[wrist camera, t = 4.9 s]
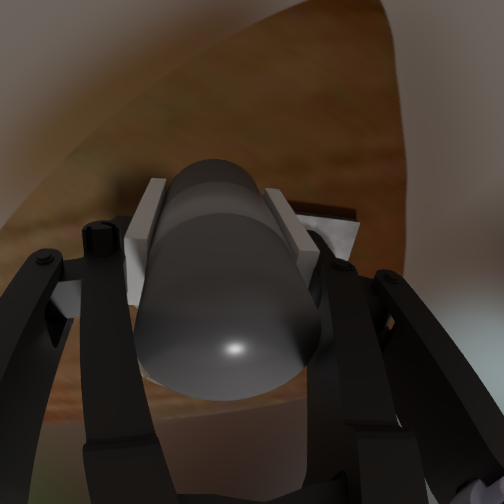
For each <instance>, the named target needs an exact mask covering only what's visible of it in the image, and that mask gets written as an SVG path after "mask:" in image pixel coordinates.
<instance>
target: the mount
mask: <svg viewBox="0 0 504 504" xmlns="http://www.w3.org/2000/svg"><path fill="white" fill-rule="evenodd" d="M294 213H295V214H296V216H297V217H298V219H299V220H300V222H301V223H302V225H303V226H304V228H305V229H306V230H313V231H315V232H316V233H318V234H319V235H321V236H322V238H323V239H324V241H325V243H327V245H328V246H329V248H330V249H331V251H332V252H333V253H334V255H335V256H336V258H340V259H343V260H346V261H348V258H349V255H350V252H351V249H352V246H353V243H354V240H355V237H356V234H357V231H358V228H359V225H360V222H359V221H358V220H357V219H356V218H348V217H341V216H333V215H325V214H317V213H309V212H301V211H294Z"/></svg>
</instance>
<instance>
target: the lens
mask: <svg viewBox="0 0 504 504" xmlns="http://www.w3.org/2000/svg"><path fill="white" fill-rule="evenodd" d="M321 332H322V327H321V318H320V314H319V312H318V309H317V307H316V305H315V303H314V301H313V298H312V296H311V294H310V292H309V290H308V288H307V286H306V284H305V282H304V280H303V278H302V276H301V274H300V271H299V269H298V267H297V265H296V263H295V261H294V258H293V254H292V252H291V250H290V248H289V246H288V244H287V242H286V240H285V238H284V236H283V234H282V232H281V230H280V228H279V226H278V224H277V222H276V220H275V218H274V216H273V214H272V212H271V210H270V209H269V207H268V206H267V204H266V203H265V201H264V199H263V197H262V195H261V193H260V191H259V190H258V188H257V186H256V184H255V182H254V180H253V179H252V177H251V176H250V175H249V174H248V173H247V172H246V171H245V170H244V169H243V168H241V167H240V166H238V165H236V164H234V163H232V162H229V161H226V160H220V159H207V160H202V161H198V162H195V163H193V164H191V165H189V166H187V167H186V168H184V169H183V170H182V171H181V172H179V173H178V174H177V176H176V177H175V178H174V179H173V181H172V182H171V184H170V186H169V188H168V191H167V194H166V198H165V201H164V205H163V208H162V212H161V215H160V217H159V219H158V222H157V225H156V229H155V233H154V237H153V240H152V244H151V248H150V252H149V256H148V260H147V264H146V269H145V279H144V284H143V288H142V293H141V297H140V302H139V307H138V312H137V317H136V322H135V327H134V333H133V337H134V342H135V347H136V353H137V357H138V360H139V361H140V363H141V365H142V366H143V368H144V369H145V370H146V371H147V373H148V374H149V375H150V376H151V377H153V378H154V379H155V380H156V381H157V382H159V383H160V384H162V385H163V386H165V387H167V388H168V389H170V390H172V391H175V392H177V393H179V394H182V395H185V396H189V397H193V398H197V399H203V400H213V401H228V400H238V399H244V398H249V397H253V396H257V395H260V394H263V393H266V392H269V391H271V390H273V389H275V388H277V387H279V386H281V385H283V384H284V383H286V382H288V381H289V380H291V379H292V378H293V377H295V376H296V375H297V374H298V373H299V372H300V371H302V370H303V369H304V367H305V366H306V365H307V364H308V363H309V362H310V360H311V359H312V357H313V356H314V354H315V352H316V350H317V348H318V345H319V342H320V338H321Z"/></svg>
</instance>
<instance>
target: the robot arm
mask: <svg viewBox="0 0 504 504" xmlns="http://www.w3.org/2000/svg"><path fill="white" fill-rule="evenodd" d="M165 192H166V179H161V178H151V180H150V182H149V184H148V186H147V188H146V191H145V193H144V195H143V197H142V199H141V201H140V203H139V205H138V207H137V210H136V212H135V214H134V216H133V217H128V216H117V217H115V218H114V219H112V220H110V221H105V220H101V221H94V222H91V223H88V224H87V225H85V226H84V227H83V229H82V237H83V247H84V257H82V258H78V259H72V260H64V261H63V257H62V254H61V252H60V251H58V250H55V249H46V248H45V249H40V250H38V251H36V252H34V253H32V254H31V255H30V256H29V257H28V258H27V260H26V261H25V262H24V264H23V265H22V267H21V268H20V269H19V271H18V272H17V274H16V275H15V277H14V278H13V279H12V281H11V282H10V284H9V285H8V287H7V288H6V290H5V291H4V293H3V295H2V296H1V298H0V504H28V497H29V490H30V484H31V476H32V471H33V465H34V460H35V454H36V449H37V444H38V440H39V435H40V430H41V426H42V422H43V418H44V414H45V410H46V406H47V402H48V398H49V395H50V391H51V388H52V384H53V381H54V377H55V374H56V371H57V368H58V364H59V361H60V358H61V355H62V352H63V349H64V346H65V343H66V340H67V337H68V334H69V332H70V329H71V326H72V323H73V319H74V317H80V368H81V388H82V402H83V413H84V423H85V431H86V444H84V445H83V461H84V468H85V473H86V480H87V485H88V490H89V495H90V500H91V504H429V503H428V496H427V490H426V484H425V479H426V482H427V484H428V486H429V488H430V490H431V492H432V494H433V495H434V497H435V498H436V500H437V502H438V503H439V504H504V415H503V414H502V412H501V411H500V409H499V407H498V406H497V404H496V403H495V401H494V399H493V398H492V396H491V395H490V393H489V392H488V391H487V389H486V387H485V386H484V384H483V383H482V381H481V380H480V378H479V377H478V375H477V374H476V372H475V371H474V370H473V368H472V367H471V365H470V364H469V362H468V361H467V359H466V358H465V357H464V355H463V354H462V353H461V351H460V350H459V349H458V347H457V346H456V344H455V343H454V341H453V340H452V339H451V338H450V336H449V335H448V333H447V332H446V331H445V330H444V328H443V327H442V326H441V324H440V323H439V322H438V321H437V319H436V318H435V316H434V315H433V314H432V313H431V311H430V310H429V309H428V308H427V307H426V305H425V304H424V302H423V301H422V300H421V299H420V298H419V296H418V295H417V294H416V293H415V292H414V290H413V289H412V288H411V287H410V285H409V284H408V283H407V282H406V281H405V279H404V278H403V277H401V276H400V275H399V274H397V273H396V272H394V271H392V270H385V269H382V270H378V271H376V274H375V276H374V279H371V278H367V277H363V276H359V275H358V273H357V270H356V268H355V267H354V266H353V265H352V264H351V263H350V262H348V261H346V260H343V259H340V258H336V256H335V255H334V253H333V252H332V251H331V249H330V248H329V246H328V245H327V243H325V241H324V239H323V238H322V236H321V235H319V234H318V233H316V232H315V231H313V230H306V229H305V228H304V226H303V225H302V223H301V222H300V220H299V219H298V217H297V216H296V214H295V213H294V211H293V210H292V208H291V207H290V205H289V204H288V202H287V201H286V199H285V198H284V196H283V195H282V193H281V192H280V190H279V189H270V188H265V190H264V195H263V199H264V201H265V203H266V204H267V206H268V207H269V209H270V210H271V212H272V214H273V216H274V218H275V220H276V222H277V224H278V226H279V228H280V230H281V232H282V234H283V236H284V238H285V240H286V242H287V244H288V246H289V248H290V250H291V252H292V254H293V258H294V261H295V263H296V265H297V267H298V269H299V271H300V274H301V276H302V278H303V280H304V282H305V284H306V286H307V288H308V290H309V292H310V294H311V296H312V298H313V301H314V303H315V305H316V307H317V309H318V312H319V314H320V318H321V327H322V332H321V338H320V342H319V345H318V348H317V350H316V352H315V354H314V356H313V357H312V359H311V360H310V362H309V363H308V364H307V406H308V407H307V414H308V415H307V471H306V476H305V479H304V482H303V485H302V488H301V489H299V490H297V491H294V492H292V493H289V494H287V495H284V496H281V497H279V498H276V499H273V500H271V501H267V502H259V501H251V500H244V499H237V498H231V497H226V496H220V495H215V494H205V495H204V494H176V491H175V488H174V485H173V482H172V479H171V476H170V473H169V470H168V468H167V464H166V461H165V458H164V455H163V451H162V449H161V445H160V442H159V440H158V437H157V436H156V433H155V430H154V426H153V422H152V418H151V415H150V411H149V407H148V403H147V399H146V394H145V390H144V386H143V381H142V377H141V372H140V368H139V363H138V358H137V353H136V347H135V342H134V337H133V331H132V325H131V319H130V313H129V306H128V305H139V302H140V297H141V293H142V288H143V284H144V279H145V269H146V264H147V260H148V256H149V252H150V248H151V244H152V240H153V237H154V233H155V229H156V225H157V222H158V219H159V217H160V215H161V212H162V208H163V205H164V201H165ZM391 317H393V319H394V321H395V324H394V326H393V328H392V329H391V330H390V329H389V327H388V326H387V325H388V323H389V321H390V319H391ZM396 415H397V417H398V419H399V421H400V423H401V426H402V427H400V426H399V424H398V422H397V418H396ZM424 477H425V478H424Z"/></svg>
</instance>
